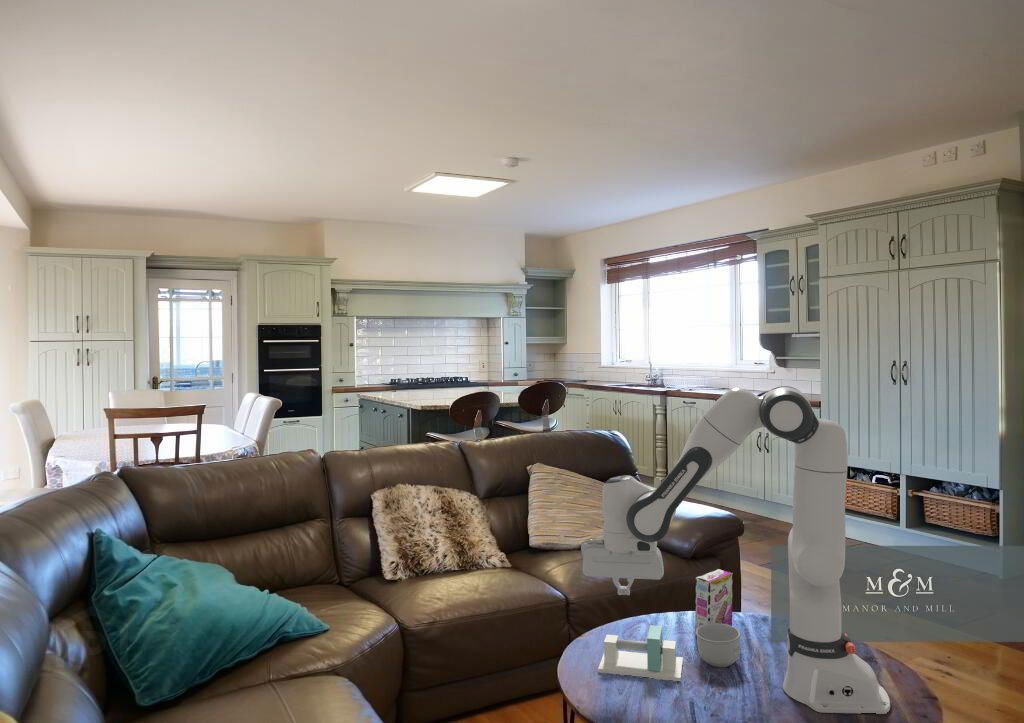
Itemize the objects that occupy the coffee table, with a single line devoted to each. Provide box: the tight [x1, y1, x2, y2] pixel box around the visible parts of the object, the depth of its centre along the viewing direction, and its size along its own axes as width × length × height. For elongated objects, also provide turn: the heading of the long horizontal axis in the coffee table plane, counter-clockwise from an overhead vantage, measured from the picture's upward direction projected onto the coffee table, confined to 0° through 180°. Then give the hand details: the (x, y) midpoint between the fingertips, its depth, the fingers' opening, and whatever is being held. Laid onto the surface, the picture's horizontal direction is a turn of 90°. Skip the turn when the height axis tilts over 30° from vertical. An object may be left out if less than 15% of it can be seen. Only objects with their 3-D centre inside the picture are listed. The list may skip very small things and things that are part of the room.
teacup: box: [695, 621, 741, 668], centre depth 186 cm, size 14×11×8 cm
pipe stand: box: [597, 634, 684, 683], centre depth 183 cm, size 20×11×7 cm, turn 74°
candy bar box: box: [694, 568, 733, 636], centre depth 201 cm, size 11×5×16 cm, turn 130°
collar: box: [646, 624, 663, 671], centre depth 182 cm, size 3×8×8 cm, turn 164°
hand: (624, 594), depth 183 cm, fingers closed
